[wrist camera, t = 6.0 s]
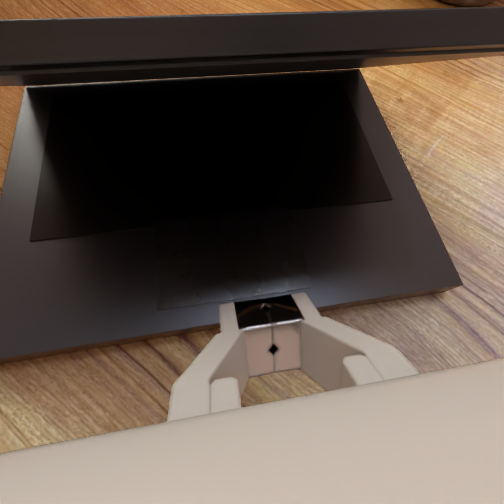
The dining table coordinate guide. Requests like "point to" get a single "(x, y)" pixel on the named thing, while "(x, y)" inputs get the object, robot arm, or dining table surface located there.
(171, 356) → the dining table surface
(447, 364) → the dining table surface
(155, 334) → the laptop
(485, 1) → the plant pot
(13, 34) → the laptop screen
